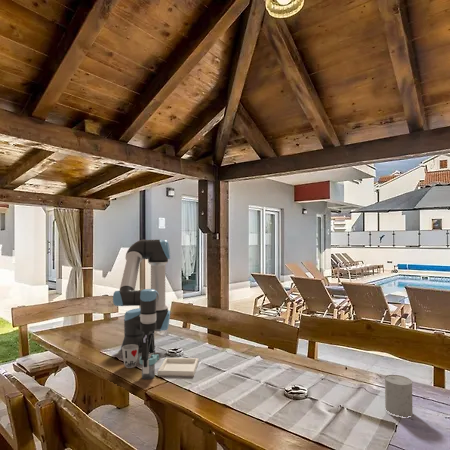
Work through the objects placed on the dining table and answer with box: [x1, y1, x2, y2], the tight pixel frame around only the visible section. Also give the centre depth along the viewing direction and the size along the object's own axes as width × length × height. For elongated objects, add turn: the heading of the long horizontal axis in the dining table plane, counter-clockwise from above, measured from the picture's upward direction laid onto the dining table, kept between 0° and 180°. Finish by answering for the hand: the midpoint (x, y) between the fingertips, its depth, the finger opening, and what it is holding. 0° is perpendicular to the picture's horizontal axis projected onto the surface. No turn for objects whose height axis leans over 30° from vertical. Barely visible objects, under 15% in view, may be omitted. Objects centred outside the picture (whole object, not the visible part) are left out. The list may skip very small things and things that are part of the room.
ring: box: [139, 353, 160, 366], centre depth 170 cm, size 9×8×2 cm
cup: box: [121, 344, 139, 369], centre depth 183 cm, size 8×8×10 cm
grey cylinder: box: [384, 374, 414, 417], centre depth 136 cm, size 10×10×12 cm
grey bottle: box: [141, 353, 156, 381], centre depth 169 cm, size 6×6×11 cm
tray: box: [157, 357, 199, 378], centre depth 178 cm, size 17×17×2 cm
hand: (148, 369), depth 169 cm, fingers closed on ring, 8 cm apart
